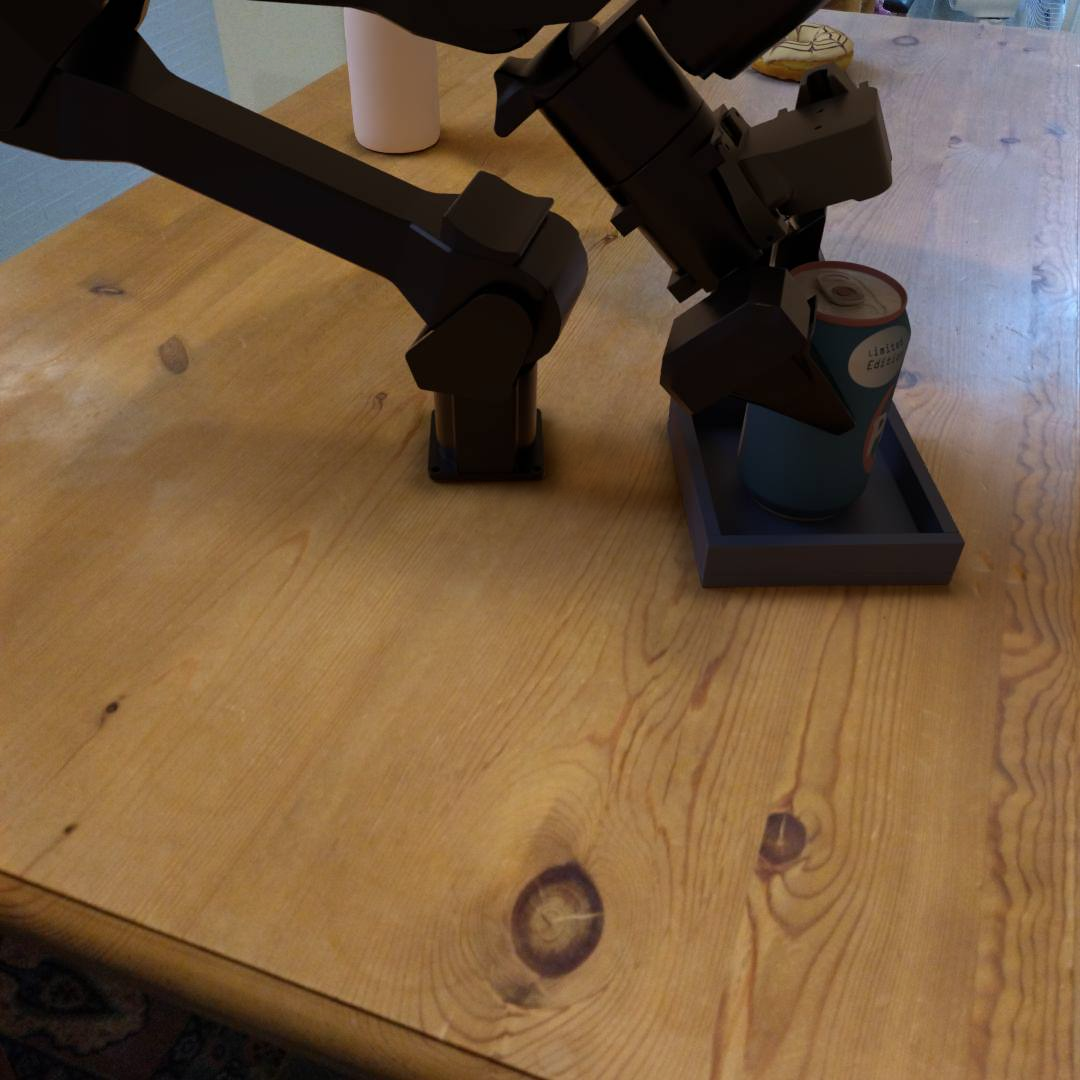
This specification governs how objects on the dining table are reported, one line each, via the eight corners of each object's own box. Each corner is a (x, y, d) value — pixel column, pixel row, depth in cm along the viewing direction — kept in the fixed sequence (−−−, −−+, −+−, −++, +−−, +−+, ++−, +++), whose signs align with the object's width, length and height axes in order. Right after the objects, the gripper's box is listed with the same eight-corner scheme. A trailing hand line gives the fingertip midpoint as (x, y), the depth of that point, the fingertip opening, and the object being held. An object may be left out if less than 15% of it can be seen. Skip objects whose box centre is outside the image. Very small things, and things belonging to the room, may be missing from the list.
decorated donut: (738, 53, 116) (743, 16, 114) (835, 54, 117) (842, 17, 114) (755, 85, 108) (761, 46, 106) (859, 86, 109) (867, 47, 106)
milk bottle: (452, 149, 94) (442, -110, 81) (367, 160, 92) (343, -105, 79) (426, 119, 100) (413, -128, 87) (346, 129, 98) (320, -124, 84)
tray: (950, 584, 53) (966, 543, 51) (701, 587, 53) (708, 546, 51) (875, 427, 63) (886, 387, 62) (666, 428, 63) (671, 389, 61)
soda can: (881, 524, 55) (946, 322, 47) (754, 535, 55) (799, 330, 47) (834, 445, 61) (886, 251, 53) (717, 454, 60) (751, 257, 52)
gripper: (790, 97, 36) (1023, 417, 41) (816, -36, 50) (989, 217, 55) (556, 278, 42) (784, 533, 48) (636, 115, 56) (807, 329, 62)
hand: (849, 389), depth 53 cm, fingers closed on soda can, 7 cm apart
